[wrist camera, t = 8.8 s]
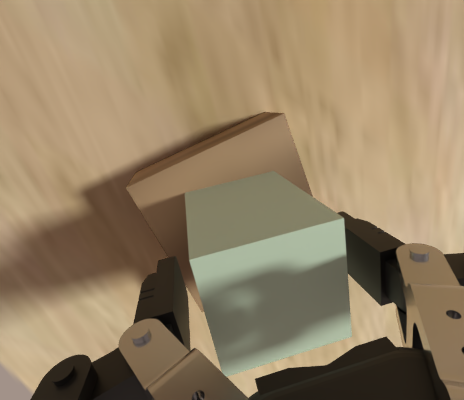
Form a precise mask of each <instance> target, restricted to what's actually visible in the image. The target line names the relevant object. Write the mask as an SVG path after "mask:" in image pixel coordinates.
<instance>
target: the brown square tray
mask: <svg viewBox="0 0 464 400" xmlns="http://www.w3.org/2000/svg"><path fill="white" fill-rule="evenodd" d="M272 171H275V172H276V173H278V174H279V175H281V176H282V177H284V178H285V179H287V180H288V181H290V182H291V183H293V184H294V185H295V186H297V187H298V188H300V189H301V190H303V191H304V192H306V193H307V194H309V195H310V196H312V193H311V190H310V187H309V184H308V181H307V179H306V176H305V173H304V170H303V167H302V164H301V161H300V158H299V155H298V152H297V149H296V146H295V143H294V140H293V138H292V135H291V132H290V129H289V126H288V123H287V120H286V117H285V114H284V113H270V112H264V113H261V114H259V115H257V116H255V117H253V118H251V119H249V120H246V121H244V122H242V123H240V124H238V125H236V126H234V127H232V128H229V129H227V130H225V131H223V132H221V133H219V134H217V135H215V136H212V137H210V138H208V139H206V140H204V141H202V142H200V143H197V144H195V145H193V146H191V147H189V148H187V149H185V150H183V151H180V152H178V153H176V154H174V155H172V156H170V157H168V158H166V159H163V160H161V161H159V162H157V163H155V164H153V165H151V166H149V167H146V168H144V169H142V170H140V171H138V172H136V173H135V175H134V176H133V178H132V179H131V181H130V182H129V184H128V185H127V187H126V189H127V191H128V192H129V194H130V195H131V197H132V199H133V200H134V202H135V204H136V205H137V207H138V208H139V210H140V212H141V213H142V215H143V217H144V218H145V220H146V222H147V223H148V225H149V226H150V228H151V230H152V231H153V233H154V235H155V236H156V238H157V239H158V241H159V243H160V244H161V246H162V248H163V249H164V251H165V253H166V254H167V256H168V257H173V256H176V258H177V260H178V264H179V267H180V270H181V273H182V276H183V280H184V283H185V285H186V287H187V288H188V290H189V292H190V293H191V295H192V297H193V298H194V300H195V301H196V303H197V305H198V306H199V308H200V310H201V311H202V312H204V309H203V305H202V302H201V299H200V295H199V292H198V288H197V285H196V282H195V278H194V275H193V271H192V268H191V265H190V261H189V250H188V235H187V221H186V206H185V193H186V192H190V191H194V190H199V189H203V188H207V187H211V186H215V185H219V184H223V183H227V182H231V181H235V180H239V179H243V178H247V177H251V176H255V175H260V174H264V173H268V172H272ZM312 197H313V196H312Z"/></svg>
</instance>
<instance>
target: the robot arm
mask: <svg viewBox="0 0 464 400" xmlns="http://www.w3.org/2000/svg"><path fill="white" fill-rule="evenodd" d="M337 214H339V215H340V216H342V217H343V218H344V226H345V241H346V256H347V271H348V274H349V275H350V276H351V277H352V278H353V279H354V280H355V281H356V282H357V283H358V284H359V285H360V286H361V287H362V288H363V289H364V290H365V291H366V292H367V293H368V294H369V295H370V296H371V297H373V298H374V299H375V300H376V301H377V302H378V303H379V304H380V305H381V306H382V305H385V304H389V303H392V302H394V303H395V304H396V316H397V321H398V326H399V330H400V335H401V340H402V344H403V347H395V346H394V345H393V344H392V342H391V341H390V340H389V339H388V338H387V337H383V338H380V339H377V340H374V341H371V342H368V343H365V344H362V345H359V346H355V347H354V348H352V349H351V350H349V351H348V352H346V353H345V354H343V355H342V356H340V357H339V358H337V359H336V360H334V361H333V362H331V363H330V364H328V365H325V366H312V367H297V368H287V369H284V370H281V371H278V372H275V373H272V374H269V375H266V376H262V377H259V378H256V379H255V380H256V385H257V389H258V392H256V393H255V394H253V395H252V396H251V397H249V398H247V397H246V396H245V395H244V394H243V393H242V392H241V391H240V390H239V389H238V388H237V387H236V386H235V385H234V384H233V383H232V382H231V381H230V380H229V379H228V378H227V377H226V376H225V375H224V374H223V373H222V372H221V371H220V370H219V369H218V368H217V367H216V366H215V365H214V364H213V363H212V362H211V361H209V360H208V359H207V358H206V357H205V356H204V355H203V354H202V353H201V352H200V351H199V350H198V349H196V348H194V349H192V350H191V351H190V330H189V308H188V295H187V290H186V286H185V283H184V280H183V276H182V273H181V270H180V267H179V264H178V260H177V258H176V256H173V257H169V258H166V259H162V260H159V261H158V266H157V273H154V274H150V275H148V276H147V278H146V279H145V280H144V282H143V283H142V286H141V291H140V295H139V301H138V305H137V310H136V314H135V319H134V324H133V325H132V326H131V327H129V328H128V329H127V330H126V331H125V332H124V333H123V335H122V336H121V338H120V340H119V347H118V348H117V349H115V350H114V351H112V352H110V353H109V354H107V355H105V356H103V357H101V358H100V359H98V360H96V361H94V362H91V360H90V358H89V357H88V356H86V355H75V356H71V357H69V358H67V359H65V360H63V361H61V362H60V363H58V364H57V365H55V366H54V367H53V368H52V369H51V370H50V371H49V372H48V373H47V374H46V375H45V376H44V377H43V379H42V380H41V382H40V384H39V385H38V387H37V389H36V391H35V393H34V394H33V396H32V398H31V400H464V253H457V254H443V253H442V252H441V251H440V250H438V249H437V248H435V247H432V246H429V245H425V244H417V243H412V244H405V243H403V242H401V241H400V240H398V239H396V238H395V237H393V236H391V235H390V234H388V233H386V232H384V231H383V230H381V229H380V228H377V227H376V226H375V225H373V224H371V223H370V222H368V221H364V220H361V219H355V218H353V217H351V216H350V215H348V214H347V213H345V212H339V213H337Z"/></svg>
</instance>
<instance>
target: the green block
mask: <svg viewBox="0 0 464 400" xmlns="http://www.w3.org/2000/svg"><path fill="white" fill-rule="evenodd" d="M185 206H186V221H187V235H188V250H189V261H190V265H191V268H192V271H193V275H194V278H195V282H196V285H197V288H198V292H199V295H200V299H201V302H202V305H203V309H204V312H205V316H206V319H207V322H208V326H209V329H210V333H211V336H212V339H213V343H214V346H215V350H216V353H217V356H218V360H219V363H220V367H221V370H222V373H223V374H224V375H225V376H226V377H227V376H230V375H234V374H237V373H240V372H243V371H246V370H249V369H252V368H255V367H259V366H262V365H265V364H268V363H271V362H274V361H277V360H281V359H284V358H287V357H290V356H293V355H296V354H299V353H302V352H306V351H309V350H312V349H315V348H318V347H321V346H324V345H327V344H331V343H334V342H337V341H340V340H343V339H346V338H349V337H352V332H351V317H350V302H349V286H348V271H347V256H346V241H345V226H344V218H343V217H342V216H340V215H339V214H337V213H336V212H334V211H333V210H331V209H330V208H328V207H327V206H325V205H324V204H322V203H321V202H319V201H318V200H316V199H315V198H313V197H312V196H310V195H309V194H307V193H306V192H304V191H303V190H301V189H300V188H298V187H297V186H295V185H294V184H293V183H291V182H290V181H288V180H287V179H285V178H284V177H282V176H281V175H279V174H278V173H276V172H275V171H272V172H268V173H264V174H260V175H255V176H251V177H247V178H243V179H239V180H235V181H231V182H227V183H223V184H219V185H215V186H211V187H207V188H203V189H199V190H194V191H190V192H186V193H185Z"/></svg>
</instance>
